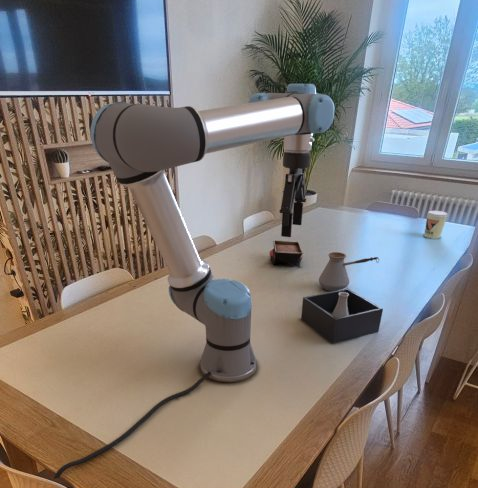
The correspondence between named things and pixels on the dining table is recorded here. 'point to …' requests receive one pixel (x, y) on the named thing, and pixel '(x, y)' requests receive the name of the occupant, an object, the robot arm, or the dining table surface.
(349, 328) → the dark grey open box
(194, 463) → the dining table surface
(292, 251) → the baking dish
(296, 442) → the dining table surface
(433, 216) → the coffee cup
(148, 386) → the dining table surface
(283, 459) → the dining table surface
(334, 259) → the coffee pot
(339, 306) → the flask
